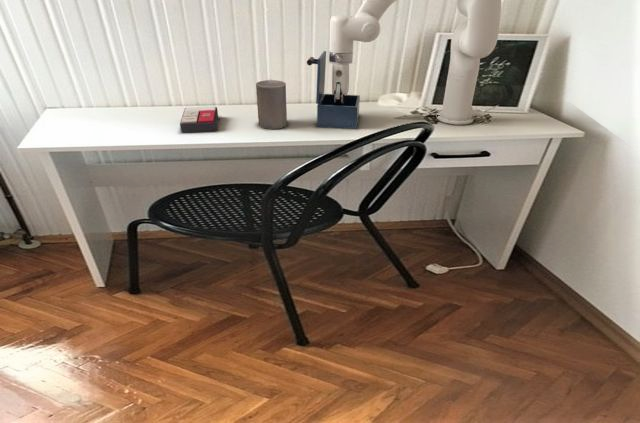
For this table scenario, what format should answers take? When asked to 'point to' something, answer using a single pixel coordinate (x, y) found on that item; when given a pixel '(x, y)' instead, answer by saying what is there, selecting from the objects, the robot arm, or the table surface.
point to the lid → (319, 74)
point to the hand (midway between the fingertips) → (338, 113)
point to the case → (338, 112)
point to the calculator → (199, 119)
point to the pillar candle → (271, 104)
